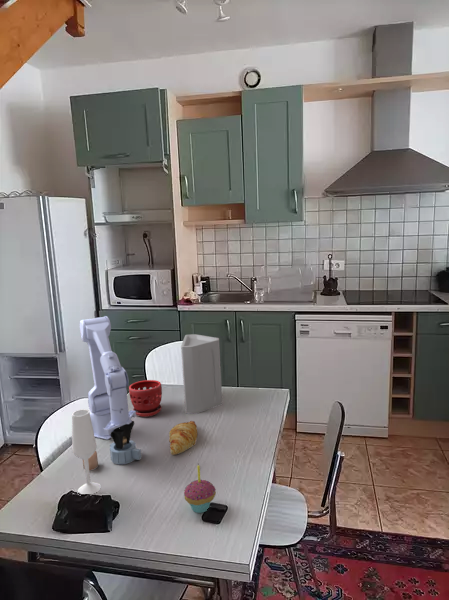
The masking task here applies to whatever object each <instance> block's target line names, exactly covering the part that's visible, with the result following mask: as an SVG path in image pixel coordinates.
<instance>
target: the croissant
mask: <svg viewBox="0 0 449 600" xmlns="http://www.w3.org/2000/svg"><path fill="white" fill-rule="evenodd" d="M168 437H169V440H168V441H169V443H170V444H169V447H170V449H169V451H170V455H172V456H174V455H176V456H177V455H179V454H181V453H184V452H185V451H187V450H189V449H190V448H192V447H193V446H195V445H196V442H197V439H198V427H197V424H196V422H195V421H194V420H190V421H186V422H180V423H178V424H176V425H174V426H173V427H172V428H171V429H170V431H169V432H168Z"/></svg>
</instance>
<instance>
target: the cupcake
mask: <svg viewBox="0 0 449 600" xmlns="http://www.w3.org/2000/svg"><path fill="white" fill-rule="evenodd" d="M200 467H201V466H200V463H199V462H197V480H194V481H193V480H192V481H191V482H189V484H187V485H186V487H185V488H184V490H183V491H184V492H183V496H184V500H185V501H186V503H188V504H189V506H190V507H191V510H192V511H193V512H195V513H197V514H202V513H204V512H207V511H208V510H209V509H208V508H210V505H211V502H212V501H213V500H214V499H215V496H216V493H217V491H216V490H217V489H216V487H215V485H213V483H211V481H208V480H206V479H201V468H200ZM207 509H208V510H207Z"/></svg>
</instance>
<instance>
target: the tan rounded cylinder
mask: <svg viewBox="0 0 449 600" xmlns="http://www.w3.org/2000/svg"><path fill="white" fill-rule="evenodd" d="M88 463H89V471H93V470H95V468H96V469H97V468H98V467H99V460H98V452H97V451H96V450H95V452H94V454H93V455H92V456H91V457H90V458H89V459H88ZM82 466H83V470H84V469H85V466H84V460H82Z"/></svg>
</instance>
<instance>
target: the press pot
mask: <svg viewBox="0 0 449 600" xmlns="http://www.w3.org/2000/svg"><path fill="white" fill-rule="evenodd" d="M124 449H125V450H123V451H122V449H118V448H116V446H115V443H114V442H112V443H110V444H109V454H110V461H111V463H113V464H114V465H120V466H121V465H127V464H130V463H132V462H133V461H135V460H137V461H139V460H141V459H142V450H141V449H140V448H137V444H136V442H135V441H134V440H132V439H131V440H130V441H129V443H128V444H125V445H124Z"/></svg>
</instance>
